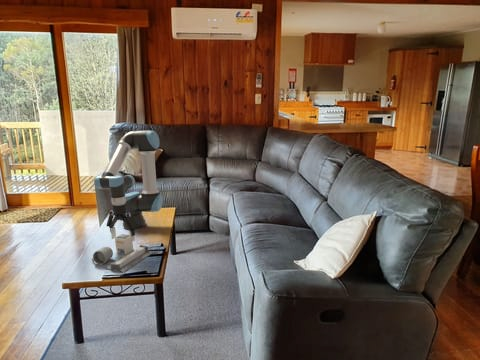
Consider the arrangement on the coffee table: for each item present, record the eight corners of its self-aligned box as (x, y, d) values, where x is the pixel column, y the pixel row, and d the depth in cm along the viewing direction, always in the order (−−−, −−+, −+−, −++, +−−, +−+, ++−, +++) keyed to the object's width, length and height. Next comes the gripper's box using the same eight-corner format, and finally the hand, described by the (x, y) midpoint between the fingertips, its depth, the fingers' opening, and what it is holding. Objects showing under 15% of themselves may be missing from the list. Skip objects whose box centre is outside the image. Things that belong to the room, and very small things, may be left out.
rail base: (136, 249, 201) (136, 244, 200) (153, 252, 196) (152, 247, 195) (105, 268, 180) (104, 262, 179) (123, 272, 175) (122, 266, 174)
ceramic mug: (114, 258, 192) (112, 245, 190) (106, 265, 184) (104, 251, 182) (97, 257, 194) (95, 244, 192) (88, 264, 186) (86, 250, 184)
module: (124, 248, 204) (122, 233, 201) (133, 250, 201) (131, 234, 198) (116, 252, 198) (114, 237, 196) (126, 254, 195) (124, 238, 193)
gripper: (97, 203, 194) (101, 239, 199) (132, 207, 184) (136, 245, 189) (107, 200, 201) (111, 234, 206) (141, 203, 191) (145, 239, 196)
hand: (123, 239), depth 197 cm, fingers open, 13 cm apart
